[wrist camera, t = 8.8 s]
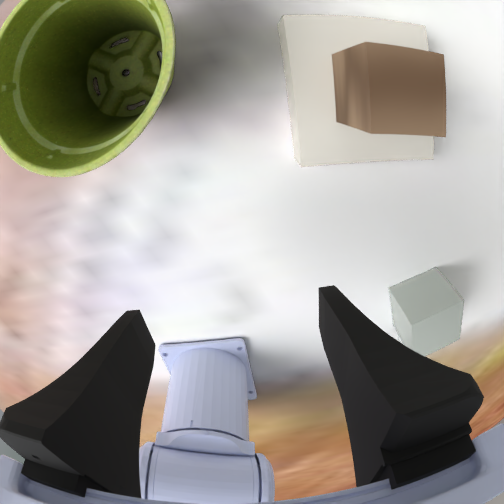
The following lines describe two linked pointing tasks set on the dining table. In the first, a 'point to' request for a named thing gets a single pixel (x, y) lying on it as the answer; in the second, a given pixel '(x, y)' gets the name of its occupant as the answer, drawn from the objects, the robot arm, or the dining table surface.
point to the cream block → (323, 94)
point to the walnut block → (390, 89)
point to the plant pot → (80, 80)
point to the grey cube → (426, 312)
